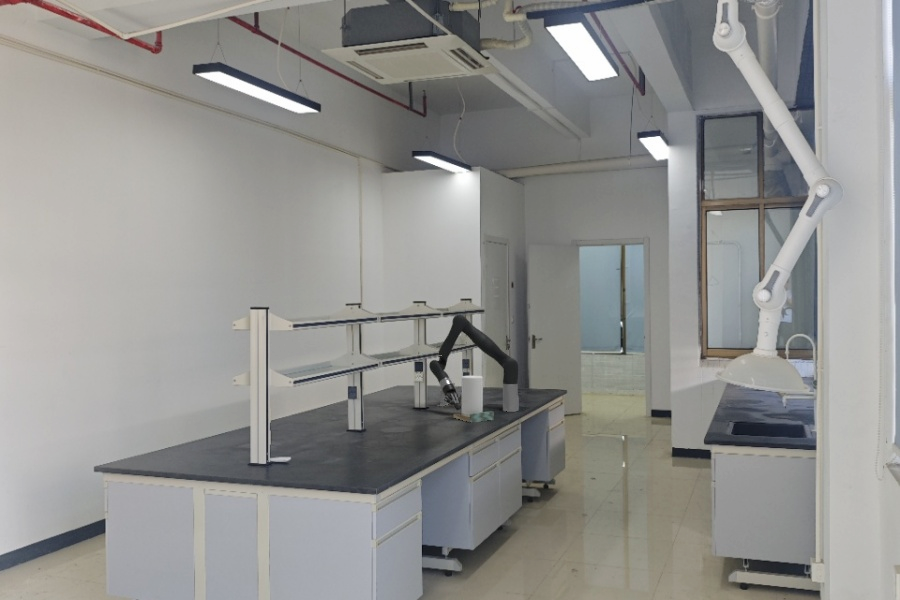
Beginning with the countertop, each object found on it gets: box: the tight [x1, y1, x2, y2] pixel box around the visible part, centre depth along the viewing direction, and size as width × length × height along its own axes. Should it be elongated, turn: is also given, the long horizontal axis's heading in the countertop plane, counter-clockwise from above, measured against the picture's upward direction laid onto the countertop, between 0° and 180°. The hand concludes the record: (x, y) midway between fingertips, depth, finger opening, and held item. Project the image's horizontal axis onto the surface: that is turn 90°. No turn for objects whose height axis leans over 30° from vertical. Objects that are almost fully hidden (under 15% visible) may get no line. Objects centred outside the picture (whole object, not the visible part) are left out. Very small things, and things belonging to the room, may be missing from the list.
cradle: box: [453, 411, 495, 424], centre depth 458 cm, size 16×18×5 cm
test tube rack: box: [436, 382, 459, 407], centre depth 517 cm, size 25×4×13 cm, turn 156°
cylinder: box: [461, 375, 484, 417], centre depth 459 cm, size 12×12×25 cm
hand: (458, 409), depth 470 cm, fingers closed
